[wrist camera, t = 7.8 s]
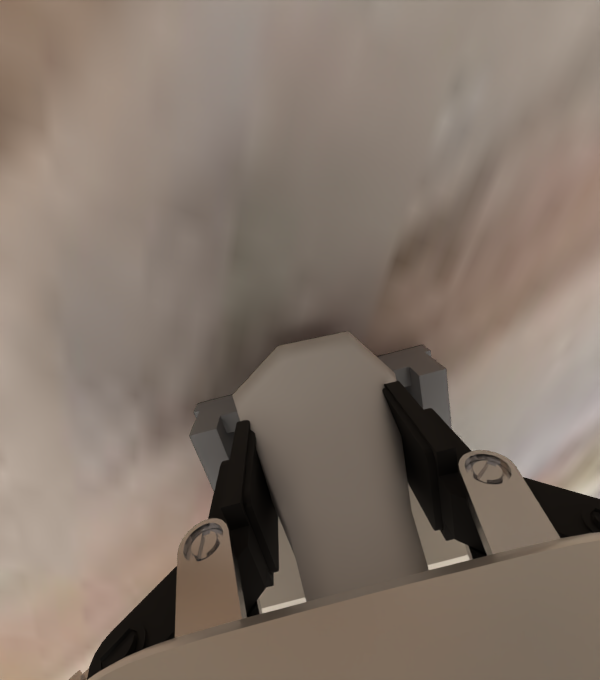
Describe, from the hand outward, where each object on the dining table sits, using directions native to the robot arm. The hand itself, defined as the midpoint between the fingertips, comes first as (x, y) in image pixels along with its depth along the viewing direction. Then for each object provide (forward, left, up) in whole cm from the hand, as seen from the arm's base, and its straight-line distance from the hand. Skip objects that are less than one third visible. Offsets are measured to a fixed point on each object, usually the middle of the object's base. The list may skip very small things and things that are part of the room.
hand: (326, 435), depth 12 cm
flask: (0, 0, -2) cm, 2 cm away
